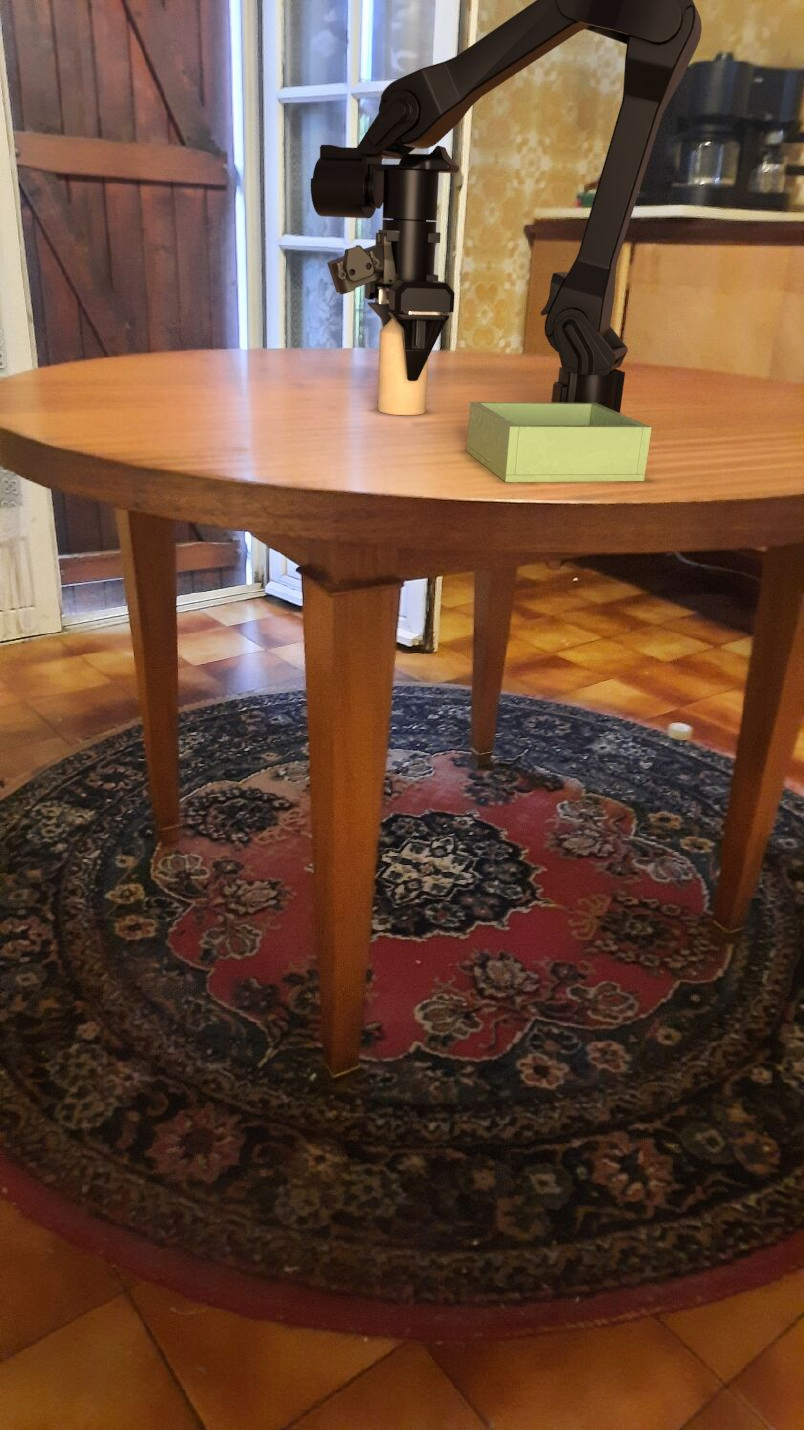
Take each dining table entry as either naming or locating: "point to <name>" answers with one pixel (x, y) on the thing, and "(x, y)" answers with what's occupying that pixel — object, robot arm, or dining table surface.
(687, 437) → the dining table surface
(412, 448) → the dining table surface
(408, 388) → the candle
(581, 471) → the green open tray
